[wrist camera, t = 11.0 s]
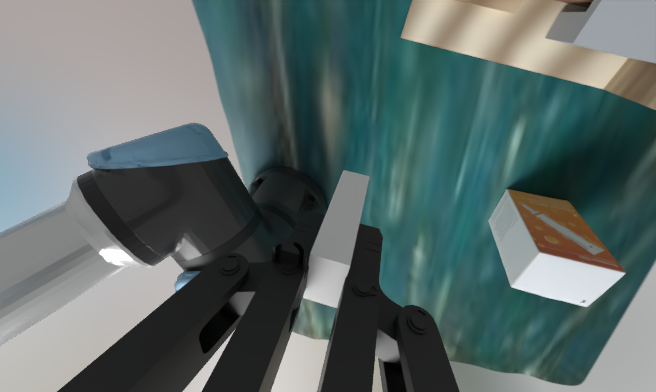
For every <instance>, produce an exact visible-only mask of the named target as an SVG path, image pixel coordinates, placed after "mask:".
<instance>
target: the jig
mask: <svg viewBox="0 0 656 392" xmlns="http://www.w3.org/2000/svg"><path fill="white" fill-rule="evenodd" d="M587 10H588V8H587V7H582V6H578V5H573V4H569V3H564V2H560V1H555V0H412V3H411V6H410V9H409V13H408V16H407V19H406V22H405V25H404V29H403V32H402V35H401V38H403V39H407V40H411V41H415V42H419V43H423V44H427V45H431V46H435V47H439V48H443V49H447V50H451V51H455V52H459V53H463V54H467V55H470V56H474V57H478V58H482V59H486V60H490V61H494V62H498V63H502V64H506V65H510V66H514V67H518V68H522V69H526V70H530V71H533V72H537V73H541V74H545V75H549V76H553V77H557V78H561V79H565V80H569V81H573V82H577V83H581V84H585V85H589V86H593V87H596V88H600V89H604V90H606V91H609V92H611V93H614V94H616V95H619V96H621V97H624V98H626V99H629V100H631V101H634V102H636V103H639V104H641V105H644V106H646V107H649V108H651V109H654V110H656V63H651V62H646V61H641V60H636V59H631V58H626V57H622V56H617V55H613V54H609V53H604V52H600V51H596V50H592V49H588V48H584V47H579V46H575V45H571V44H567V43H563V42H559V41H554V40H550V39H546V38H545V37H546V35H547V34H548V32H549V30H550V29H551V27H552V25H553V24H554V22H555V20H556V19H557V17H558V15H559V14H560V12H586V11H587Z"/></svg>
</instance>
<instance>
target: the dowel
mask: <svg viewBox="0 0 656 392" xmlns="http://www.w3.org/2000/svg"><path fill="white" fill-rule="evenodd" d="M555 1H560V2H564V3H569V4H573V5H578V6H582V7H587V8H589V6H590V5H591V3H592V2H593V0H555Z"/></svg>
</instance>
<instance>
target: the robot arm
mask: <svg viewBox="0 0 656 392" xmlns="http://www.w3.org/2000/svg"><path fill="white" fill-rule="evenodd" d="M227 156H228V154H227V152H225V151H224V150H223V149H222V147H221V146H220V144H219V143H218V141H217V140H216V138H215V137H214V136H213V134H212V133H211V131H210V130H209V129H208V128H207V127H205V126H203V125H201V124H198V123H189V124H185V125H182V126H179V127H175V128H172V129H169V130H165V131H162V132H159V133H155V134H152V135H149V136H145V137H142V138H139V139H135V140H132V141H129V142H125V143H122V144H119V145H116V146H112V147H109V148H106V149H102V150H99V151H96V152H93V153H90V154H88V156H87V159H88V165H89V166H90V167H91V168H93V170H91V171H89V172H87V173H85V174H83V175H80V176H78V177H76V178H74V180H73V183H72V187H71V191H70V195H69V198H68V199H67V200H66V201H65V202H63V203H60V204H58V205H57V206H54V207H52V208H50V209H48V210H46V211H44V212H42V213H40V214H38V215H36V216H34V217H32V218H30V219H28V220H26V221H24V222H22V223H19V224H18V225H16V226H13V227H11V228H9V229H7V230H5V231H3V232H1V233H0V346H1V345H2V344H4V343H5V342H7V341H9V340H10V339H12V338H13V337H15V336H17V335H18V334H20V333H21V332H23V331H25V330H26V329H28V328H29V327H31V326H32V325H34V324H36V323H37V322H39V321H41V320H42V319H44V318H45V317H47V316H48V315H50V314H52V313H53V312H55V311H56V310H58V309H60V308H61V307H63V306H64V305H66V304H68V303H69V302H71V301H72V300H74V299H76V298H77V297H79V296H80V295H82V294H84V293H85V292H87V291H88V290H90V289H92V288H93V287H95V286H96V285H98V284H100V283H101V282H103V281H104V280H106V279H107V278H109V277H111V276H112V275H114V274H115V273H117V272H119V271H120V270H122V269H123V268H125V267H130V266H134V267H146V268H150V267H153V266H155V265H156V264H158V263H159V262H161V261H162V260H164V259H165V258H167V257H169V256H171V257H173V258H174V259H175V261H176V262H177V263H178V264H179V265H180V266H181V267H182V269H183V270H184V272H183V273H181V274H180V275H179V276H178V277H177V281H176V283H175V290H176V293H175V294H173V295H172V296H171V297H170V298H169V299H167V300H166V301H165V302H164V303H163V304H161V305H160V306H159V307H158V308H157V309H155V310H154V311H153V312H152V313H151V314H149V315H148V316H147V317H146V318H145V319H143V320H142V321H141V322H140V323H139V324H137V326H135V327H134V328H133V329H132V330H130V331H129V332H128V333H127V334H126V335H124V336H123V337H122V338H121V339H120V340H119V341H117V342H116V343H115V344H114V345H112V346H111V347H110V348H109V349H108V350H106V351H105V352H104V353H103V354H102V355H100V356H99V357H98V358H97V359H96V360H94V361H93V362H92V363H91V364H90V365H88V366H87V367H86V368H85V369H84V370H83V371H81V372H80V373H79V374H78V375H77V376H75V377H74V378H73V379H72V380H71V381H70V382H68V383H67V384H66V385H65V386H63V387H62V388H61V389H60V390H59V391H57V392H182V391H183V390H184V389H185V388H186V387H187V385H188V384H189V383H190V382H191V381H192V380H193V378H194V377H195V376H196V375H197V374H198V372H199V371H200V370H201V369H202V368H203V366H204V365H205V364H206V363H207V362H208V361H209V359H210V358H211V357H212V356H213V355H214V353H215V352H216V351H217V350H218V349H219V348H220V346H221V345H222V344H223V343H224V342H225V340H226V339H227V338H228V337H229V336H230V334H231V333H232V332H233V331H234V330H235V331H234V333H233V335H232V337H231V338H230V340H229V342H228V344H227V346H226V348H225V350H224V351H223V353H222V355H221V357H220V359H219V361H218V362H217V364H216V366H215V368H214V370H213V372H212V374H211V376H210V377H209V379H208V381H207V383H206V385H205V386H204V388H203V390H202V392H271V389H272V386H273V383H274V380H275V377H276V375H277V372H278V369H279V366H280V363H281V360H282V358H283V355H284V352H285V349H286V346H287V343H288V341H289V338H290V335H291V332H292V330H293V327H294V324H295V321H296V318H297V315H298V313H299V309H300V303H301V300H302V298H305V299H309V300H312V301H315V302H318V303H322V304H325V305H328V306H331V307H335V308H337V311H336V315H335V318H334V322H333V325H332V328H331V335H330V339H329V343H328V347H327V352H326V356H325V360H324V364H323V369H322V373H321V377H320V382H319V386H318V390H317V392H372V385H373V373H374V362H375V355H376V356H377V357H378V360H379V367H380V374H381V381H382V388H383V392H459V389H458V386H457V383H456V380H455V377H454V374H453V372H452V369H451V366H450V363H449V360H448V357H447V354H446V351H445V348H444V345H443V342H442V339H441V336H440V333H439V331H438V328H437V325H436V323H435V321H434V319H433V317H432V316H431V315H430V314H429V313H428V312H427V311H426V310H424V309H422V308H421V307H418V306H414V305H408V306H405V307H403V308H402V307H401V306H399V305H398V304H396V303H394V302H393V301H391V300H390V299H389V298H387V296H386V295H385V294H384V293H383V292H382V290H381V288H380V285H379V272H380V261H381V251H382V240H383V237H382V234H381V232H380V230H379V229H378V228H374V227H371V226H367V225H363V224H360V219H361V214H362V209H363V205H364V200H365V195H366V191H367V186H368V182H369V177H370V176H366V175H362V174H358V173H354V172H350V171H346V170H343V173H342V175H341V178H340V180H339V183H338V185H337V188H336V190H335V193H334V195H333V198H332V200H331V203H330V205H329V208H328V210H327V204H326V200H325V197H324V195H323V193H322V191H321V190H320V188H319V187H318V186H317V184H316V183H315V182H314V181H313V180H311V179H310V178H309V177H308V176H306V175H305V174H303V173H301V172H299V171H297V170H294V169H291V168H286V167H274V168H269V169H267V170H265V171H263V172H261V173H260V174H259V175H258V176H257V177H256V178H255V179H254V180H253V181H252V183H251V184H250V186H249V189H248V190H247V189H246V187H245V186H244V184H243V182H242V181H241V179H240V177H239V176H238V174H237V172H236V171H235V169H234V167H233V166H232V164H231V162H230V161H229V159H228V157H227Z"/></svg>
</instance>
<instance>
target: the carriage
mask: <svg viewBox="0 0 656 392" xmlns="http://www.w3.org/2000/svg"><path fill="white" fill-rule="evenodd" d="M545 38H546V39H550V40H554V41H559V42H563V43H567V44H571V45H575V46H579V47H584V48H588V49H592V50H596V51H600V52H604V53H609V54H613V55H617V56H622V57H626V58H631V59H636V60H641V61H646V62H651V63H656V0H593V2H592V3H591V5H590V6H589V8H588V10H587V11H586V12H560V14H559V15H558V17H557V19H556V20H555V22H554V24H553V25H552V27H551V29H550V30H549V32H548V34H547V35H546V37H545Z"/></svg>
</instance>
